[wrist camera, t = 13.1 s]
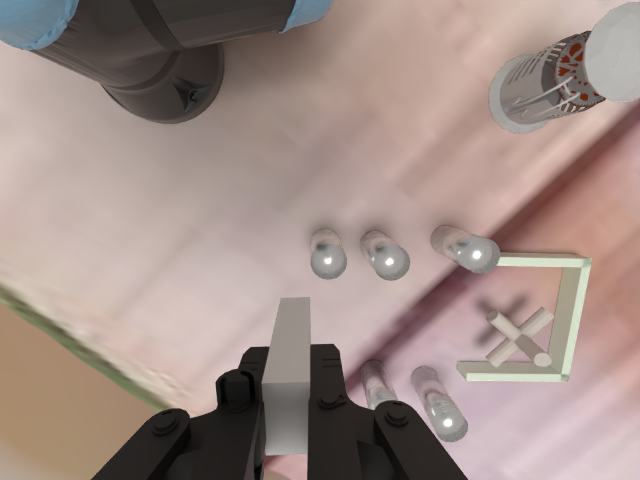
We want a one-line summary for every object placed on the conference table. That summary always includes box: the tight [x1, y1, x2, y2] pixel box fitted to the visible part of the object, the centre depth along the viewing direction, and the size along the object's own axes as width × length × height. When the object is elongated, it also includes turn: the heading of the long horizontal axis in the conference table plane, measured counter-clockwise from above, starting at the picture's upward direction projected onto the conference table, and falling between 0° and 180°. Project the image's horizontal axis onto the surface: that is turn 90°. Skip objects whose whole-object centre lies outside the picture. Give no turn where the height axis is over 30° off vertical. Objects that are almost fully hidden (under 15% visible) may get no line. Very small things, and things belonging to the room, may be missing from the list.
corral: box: [457, 252, 592, 382], centre depth 45 cm, size 19×15×3 cm
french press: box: [489, 2, 640, 133], centre depth 29 cm, size 10×12×25 cm
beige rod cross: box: [486, 307, 555, 368], centre depth 42 cm, size 10×10×10 cm
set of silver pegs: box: [311, 226, 500, 442], centre depth 41 cm, size 26×23×10 cm
